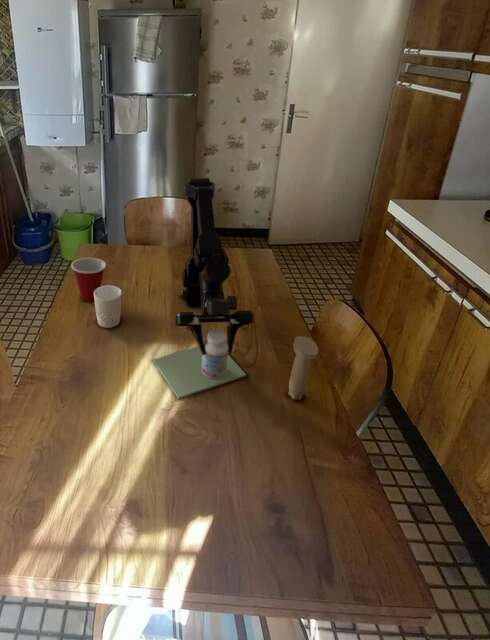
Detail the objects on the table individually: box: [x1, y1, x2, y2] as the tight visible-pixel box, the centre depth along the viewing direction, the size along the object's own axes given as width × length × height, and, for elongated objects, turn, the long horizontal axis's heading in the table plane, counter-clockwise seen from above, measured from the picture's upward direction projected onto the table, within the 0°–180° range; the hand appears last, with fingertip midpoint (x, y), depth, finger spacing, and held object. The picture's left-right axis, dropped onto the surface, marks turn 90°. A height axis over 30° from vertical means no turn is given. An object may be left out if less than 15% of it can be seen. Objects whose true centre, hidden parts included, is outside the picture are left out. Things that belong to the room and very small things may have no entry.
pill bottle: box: [201, 329, 229, 379], centre depth 107 cm, size 6×6×11 cm
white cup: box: [94, 284, 122, 329], centre depth 126 cm, size 8×8×10 cm
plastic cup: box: [70, 257, 107, 302], centre depth 138 cm, size 11×11×12 cm
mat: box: [153, 346, 247, 400], centre depth 111 cm, size 19×14×1 cm
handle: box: [288, 335, 319, 401], centre depth 100 cm, size 5×6×15 cm
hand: (216, 354), depth 105 cm, fingers closed on pill bottle, 6 cm apart
